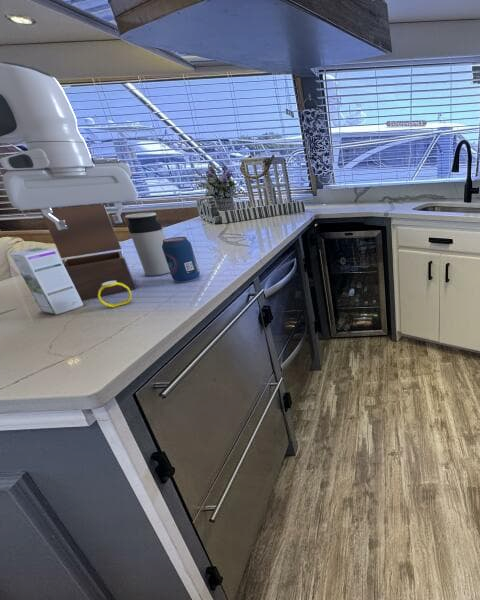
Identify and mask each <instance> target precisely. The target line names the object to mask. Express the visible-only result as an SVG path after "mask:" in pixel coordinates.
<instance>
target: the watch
mask: <svg viewBox="0 0 480 600" xmlns="http://www.w3.org/2000/svg"><path fill="white" fill-rule="evenodd" d="M114 285H120V286H123V287H124V288H126V289H127V290H128V291H127V292H128V297H127V299H126V300H124V301H121V302H118V303H115V304H112V303H107V302H106V301H104V300H103V299H102V296H100V294H101V291H102V290H103V289H104V288H105V287H111V286H114ZM97 298H98V300H99V302H100V303H101V304H102V305H104V306H105V307H109V308H111V309H112V308H116V307H119V306H123V305H128V304H129V302H130V301H131V300H132V290H130V289H129V288H128V287H127V286H126V285H124V284H123V283H118V282H117V281H108V282H105V283H103V284H102V287H101V288H100V289H99V291H98V297H97Z"/></svg>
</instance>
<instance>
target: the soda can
mask: <svg viewBox="0 0 480 600" xmlns="http://www.w3.org/2000/svg"><path fill="white" fill-rule="evenodd" d="M162 249H163V252H164V255H165V258H166V261H167V264H168V267H169V270H170V273H169V274H170V275H171V278H172V279H173V280H174V281H175V282H176V283H178V284H179V283H189V282H193V281H196V280H198V279H199V278H200V274H201V271H200V269H199V266H198V262H197V259H196V255H195V252H194V250H193V245H192V243H191V242H190V240H189V239H188V238H187V236H176V237H175V236H174V237H169V238H165V239H164V240H163V244H162Z"/></svg>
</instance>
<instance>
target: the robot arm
mask: <svg viewBox="0 0 480 600" xmlns="http://www.w3.org/2000/svg"><path fill="white" fill-rule="evenodd" d="M71 105H72V104H71V103H70V101H69V99H68V97H67V95H66V93H65V91H64V88H63V87H62V86H61V84H60V83H59V80H57V78H55V77H54V75H52V74H51V73H49V72H47V71H45V70H42V69H39V68H37V67H33V66H29V65H25V64H21V63H16V62H10V61H0V143H3V144H10V145H12V144H13V145H25V146H26V147H27V150H25V151H19V152H16V153H15V154H9V155H7V156H3V157H0V164H1V167H2V168H3V169H5V170H6V172H5V173H4V174H3V175H2V182H3V188H4V191H5V193H6V195H7V198H8V201H9V203H10V205H11V207H13V208H14V209H17V210H18V211H32V210H41V211H42V213H43V215H44V216H46V217H47V218H49V219H50V220H51V221H53V222H55V224H56V227H57V229H58V230H65V229H68V227H67V225H65V224H66V223H65V220H62V221H59V220H58V219H56V218H55V217H54V216H52V215H51V214H52V213H53V211H52V209H56V208H67V207H78V206H90V205H99V204H100V205H101V204H111V203H113V205H114V207H115V208H117V209H116V213H115V214H111V217H112V219H113V222H114V224H123V223H124V222H123V219H122V216H121V215H122V211H123V208H124V206H123V203H122V202H132V201H133V202H134V201H137V200H138V198H139V193H138V191H137V189H136V186H135V184H134V183H133V181H132V179H131V178H132V177H133V171H132V169H131V166H130V165H129V163H128V162H126V161H125V160H123V159H120V158H119V157H106V158H104V157H92V156H91V153H90V150H89V148H88V146H87V143H86V140H85V139H84V137H83V136H82V135H81V133H80V131H79V129H78V122H77V117H76V115H75V112H74V110H73V108H72V106H71ZM41 211H40V212H41ZM42 213H41V214H42Z"/></svg>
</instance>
